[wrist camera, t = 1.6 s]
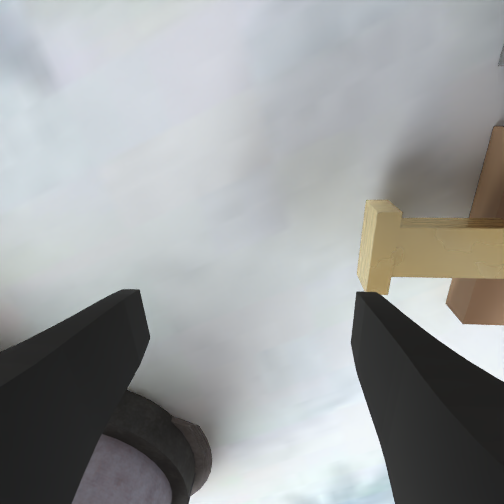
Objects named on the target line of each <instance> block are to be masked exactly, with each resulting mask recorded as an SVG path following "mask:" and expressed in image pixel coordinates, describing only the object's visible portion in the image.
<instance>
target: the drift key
mask: <svg viewBox="0 0 504 504" xmlns="http://www.w3.org/2000/svg"><path fill="white" fill-rule="evenodd" d="M402 213H403V212H402V211H400V210H399V209H398V208H397V207H396V206H395V205H393V204H392V203H391V202H390V201H389V200H366V205H365V213H364V221H363V229H362V237H361V245H360V252H359V260H358V268H357V275H358V278H359V280H360V282H361V284H362V287H363V289H364V291H365V292H377V293H379V294H380V295H388V292H389V286H390V280H391V277H433V278H487V279H504V220H503V219H501V218H402Z"/></svg>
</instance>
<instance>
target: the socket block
mask: <svg viewBox="0 0 504 504" xmlns="http://www.w3.org/2000/svg"><path fill="white" fill-rule="evenodd" d="M469 218H501V219H503V220H504V126H494V127H493V131H492V135H491V138H490V142H489V146H488V149H487V153H486V157H485V160H484V164H483V168H482V172H481V175H480V179H479V183H478V186H477V190H476V194H475V197H474V201H473V205H472V208H471V212H470V216H469ZM446 304H447V306H448V307H449V308H450V309H451V310H452V312H453V313H454V314H455V315H456V316H457V318H458V319H459V320H460V321H461V322H462V324H481V325H504V279H487V278H452V282H451V285H450V289H449V293H448V296H447V300H446Z"/></svg>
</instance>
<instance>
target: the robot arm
mask: <svg viewBox="0 0 504 504" xmlns="http://www.w3.org/2000/svg"><path fill="white" fill-rule="evenodd" d="M149 340H150V334H149V330H148V325H147V321H146V316H145V312H144V307H143V303H142V299H141V294H140V290H134V289H122V290H120V291H118V292H115V293H113V294H111V295H109V296H107V297H106V298H104V299H102V300H100V301H98V302H96V303H95V304H93V305H91V306H89V307H87V308H86V309H84V310H82V311H80V312H78V313H77V314H75V315H73V316H71V317H70V318H68V319H66V320H64V321H62V322H60V323H58V324H56V325H55V326H53V327H51V328H49V329H47V330H45V331H43V332H41V333H39V334H37V335H35V336H33V337H32V338H30V339H28V340H25V341H23V342H21V343H19V344H17V345H15V346H13V347H11V348H9V349H6V350H4V351H2V352H0V504H72V502H73V499H74V497H75V494H76V492H77V489H78V487H79V484H80V482H81V479H82V477H83V475H84V472H85V470H86V468H87V466H88V463H89V461H90V459H91V456H92V454H93V452H94V450H95V447H96V445H97V443H98V441H99V439H100V437H101V435H102V433H103V431H104V429H105V427H106V425H107V423H108V421H109V420H110V418H111V416H112V414H113V412H114V411H115V409H116V407H117V405H118V404H119V402H120V400H121V398H122V396H123V395H124V393H125V391H126V389H127V387H128V386H129V384H130V382H131V380H132V378H133V376H134V375H135V373H136V371H137V369H138V367H139V365H140V363H141V361H142V358H143V356H144V353H145V351H146V348H147V345H148V342H149ZM351 346H352V351H353V357H354V362H355V367H356V371H357V375H358V378H359V381H360V384H361V387H362V390H363V393H364V396H365V399H366V402H367V405H368V408H369V411H370V414H371V417H372V420H373V423H374V426H375V429H376V432H377V435H378V438H379V441H380V444H381V448H382V451H383V455H384V458H385V462H386V467H387V471H388V475H389V479H390V484H391V488H392V492H393V497H394V501H395V504H504V382H503V381H501V380H499V379H497V378H496V377H494V376H493V375H491V374H489V373H488V372H486V371H484V370H483V369H481V368H479V367H478V366H476V365H474V364H473V363H471V362H470V361H468V360H466V359H465V358H463V357H462V356H460V355H459V354H457V353H456V352H454V351H453V350H452V349H450V348H449V347H447V346H446V345H444V344H443V343H441V342H440V341H439V340H437V339H436V338H434V337H433V336H432V335H430V334H429V333H428V332H426V331H425V330H424V329H422V328H421V327H420V326H419V325H417V324H416V323H415V322H413V321H412V320H411V319H410V318H408V317H407V316H406V315H405V314H403V313H402V312H401V311H400V310H399V309H397V308H396V307H395V306H394V305H392V304H391V303H390V302H389V301H388V300H386V299H385V298H384V297H383V296H381V295H380V294H379V293H377V292H356V301H355V310H354V319H353V328H352V337H351Z"/></svg>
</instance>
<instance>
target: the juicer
mask: <svg viewBox="0 0 504 504" xmlns="http://www.w3.org/2000/svg"><path fill="white" fill-rule="evenodd" d="M211 465H212V456H211V449H210V446H209V444H208V441H207V438H206V436H205V435H204V433H203V431H202V430H201V428H200V426H198V425H195V424H192V423H190V422H187V421H184V420H182V419H179V418H176V417H173V416H172V415H170V414H169V413H168V412H167V411H165V410H164V409H163V408H161V407H160V406H158V405H157V404H155V403H153V402H152V401H150V400H148V399H146V398H145V397H142V396H140V395H138V394H135V393H133V392H131V391H128V390H126V391H125V393H124V395H123V396H122V398H121V400H120V402H119V404H118V405H117V407H116V409H115V411H114V412H113V414H112V416H111V418H110V420H109V421H108V423H107V425H106V427H105V429H104V431H103V433H102V435H101V437H100V439H99V441H98V443H97V445H96V447H95V450H94V452H93V454H92V456H91V459H90V461H89V463H88V466H87V468H86V470H85V472H84V475H83V477H82V479H81V482H80V484H79V487H78V489H77V492H76V494H75V497H74V499H73V502H72V504H189V500H190V496H192V495H193V494H194V493H195V492H197V491H198V490H199V489H200V488H201V487H202V486H203V485H204V483H205V482H206V481H207V478H208V476H209V474H210V472H211Z"/></svg>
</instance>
